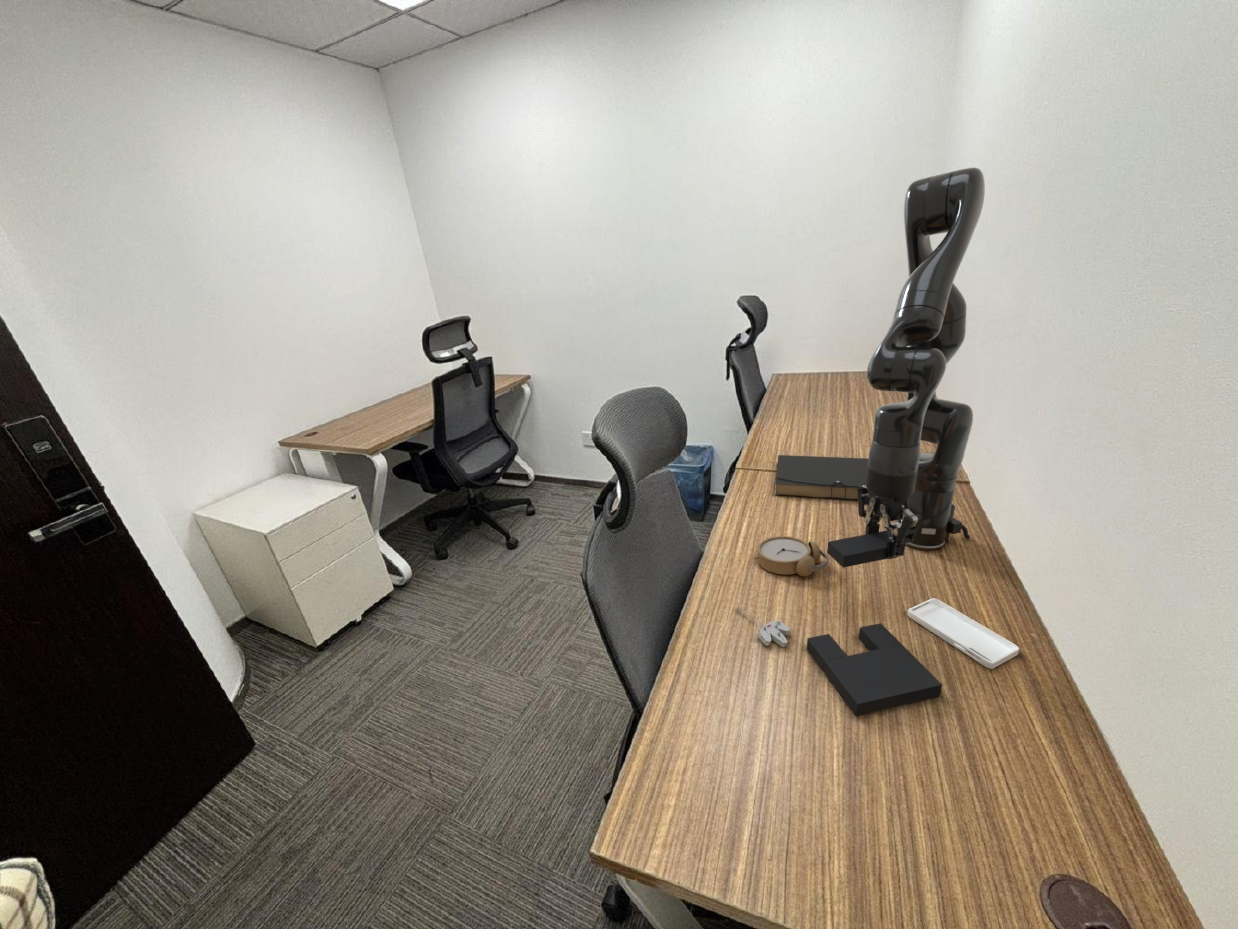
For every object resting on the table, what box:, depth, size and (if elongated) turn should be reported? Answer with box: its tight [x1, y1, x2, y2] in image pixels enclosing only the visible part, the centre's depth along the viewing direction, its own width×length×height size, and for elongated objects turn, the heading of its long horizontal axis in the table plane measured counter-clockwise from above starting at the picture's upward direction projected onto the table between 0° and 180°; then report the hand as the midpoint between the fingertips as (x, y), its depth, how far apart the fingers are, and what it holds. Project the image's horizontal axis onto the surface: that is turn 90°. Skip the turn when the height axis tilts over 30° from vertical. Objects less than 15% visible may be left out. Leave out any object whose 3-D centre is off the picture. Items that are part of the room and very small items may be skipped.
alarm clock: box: [753, 535, 829, 577], centre depth 108 cm, size 11×5×15 cm
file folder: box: [774, 454, 869, 501], centre depth 143 cm, size 33×4×24 cm
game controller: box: [739, 609, 790, 648], centre depth 90 cm, size 6×12×3 cm, turn 49°
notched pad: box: [806, 622, 943, 717], centre depth 79 cm, size 14×14×2 cm
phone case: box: [906, 597, 1020, 670], centre depth 85 cm, size 7×1×15 cm
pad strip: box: [826, 529, 906, 568], centre depth 89 cm, size 12×5×2 cm, turn 101°
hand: (881, 548), depth 89 cm, fingers closed on pad strip, 5 cm apart
